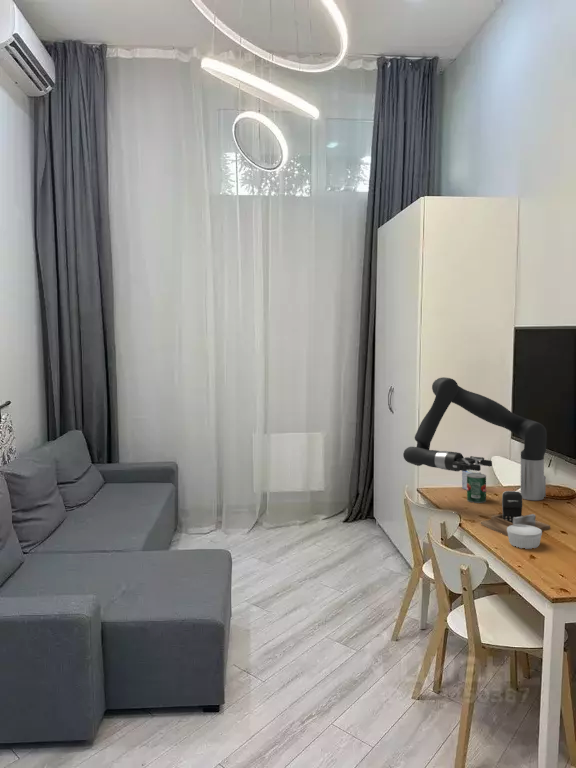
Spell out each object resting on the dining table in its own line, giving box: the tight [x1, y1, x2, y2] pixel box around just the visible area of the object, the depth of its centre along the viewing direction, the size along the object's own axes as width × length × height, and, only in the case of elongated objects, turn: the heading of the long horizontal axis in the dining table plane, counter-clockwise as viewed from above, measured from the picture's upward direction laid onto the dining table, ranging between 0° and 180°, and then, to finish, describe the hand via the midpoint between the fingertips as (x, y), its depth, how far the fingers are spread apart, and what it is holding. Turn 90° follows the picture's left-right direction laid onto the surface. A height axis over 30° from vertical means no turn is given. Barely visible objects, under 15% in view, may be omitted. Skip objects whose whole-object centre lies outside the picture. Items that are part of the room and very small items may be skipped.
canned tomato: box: [466, 473, 487, 504], centre depth 251 cm, size 8×8×11 cm
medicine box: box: [461, 470, 482, 491], centre depth 267 cm, size 8×4×9 cm, turn 27°
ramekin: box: [507, 525, 543, 550], centre depth 199 cm, size 11×11×5 cm
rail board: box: [480, 513, 551, 537], centre depth 217 cm, size 19×15×5 cm
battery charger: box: [501, 490, 523, 523], centre depth 217 cm, size 7×4×11 cm, turn 75°
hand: (485, 465), depth 224 cm, fingers open, 8 cm apart
